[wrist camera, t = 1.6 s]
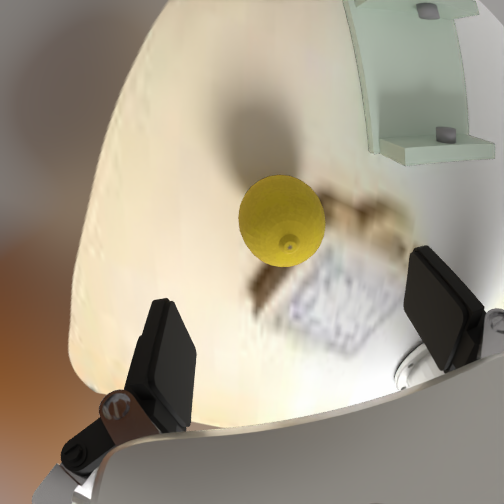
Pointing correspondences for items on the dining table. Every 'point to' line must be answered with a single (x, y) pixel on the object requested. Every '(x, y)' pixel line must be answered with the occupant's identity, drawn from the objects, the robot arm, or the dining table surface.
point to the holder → (414, 80)
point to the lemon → (281, 220)
